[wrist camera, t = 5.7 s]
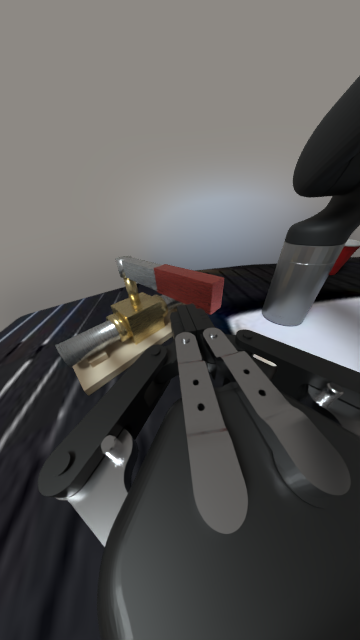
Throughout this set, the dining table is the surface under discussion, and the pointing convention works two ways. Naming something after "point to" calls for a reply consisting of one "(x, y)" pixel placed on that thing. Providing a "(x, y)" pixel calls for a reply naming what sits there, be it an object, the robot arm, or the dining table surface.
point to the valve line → (120, 325)
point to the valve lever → (175, 282)
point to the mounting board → (116, 358)
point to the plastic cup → (345, 255)
